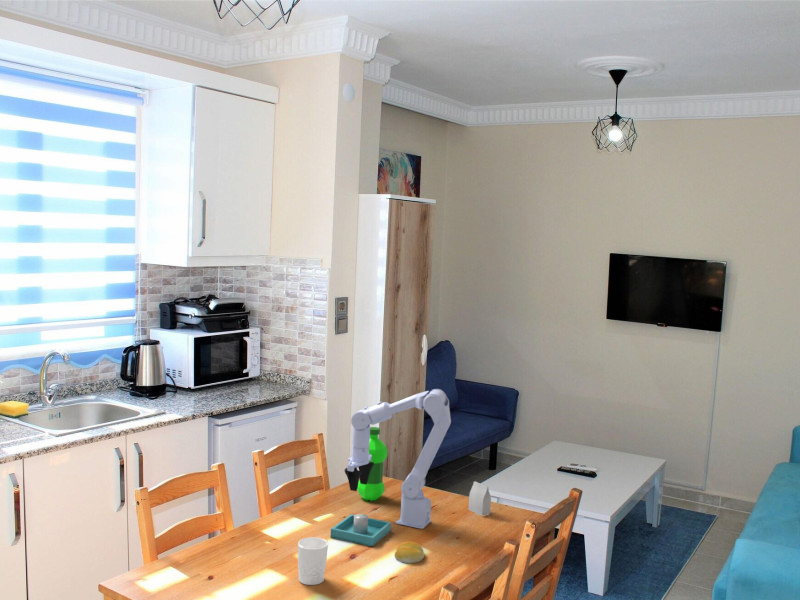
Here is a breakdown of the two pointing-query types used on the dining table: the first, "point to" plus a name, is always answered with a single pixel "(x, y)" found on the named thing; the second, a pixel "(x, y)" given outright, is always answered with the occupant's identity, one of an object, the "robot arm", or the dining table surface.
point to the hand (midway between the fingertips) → (358, 487)
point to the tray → (375, 534)
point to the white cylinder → (360, 524)
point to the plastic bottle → (374, 468)
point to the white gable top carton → (479, 499)
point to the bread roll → (409, 552)
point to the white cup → (312, 560)
